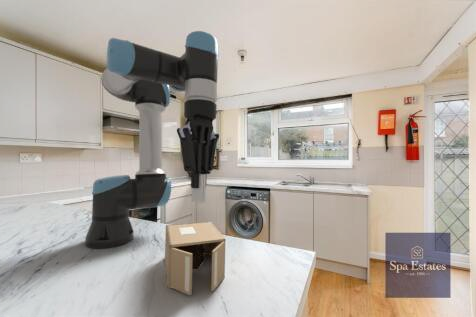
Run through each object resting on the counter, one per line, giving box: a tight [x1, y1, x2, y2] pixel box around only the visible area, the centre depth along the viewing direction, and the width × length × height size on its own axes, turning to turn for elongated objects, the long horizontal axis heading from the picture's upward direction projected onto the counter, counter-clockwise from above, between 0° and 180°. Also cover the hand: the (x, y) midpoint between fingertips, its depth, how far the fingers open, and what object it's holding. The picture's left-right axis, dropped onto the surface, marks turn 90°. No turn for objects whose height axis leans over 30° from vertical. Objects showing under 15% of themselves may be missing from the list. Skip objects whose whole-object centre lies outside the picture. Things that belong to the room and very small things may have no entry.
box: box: [178, 244, 205, 271], centre depth 63 cm, size 6×6×7 cm
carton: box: [164, 221, 226, 288], centre depth 61 cm, size 16×14×10 cm
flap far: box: [210, 242, 224, 292], centre depth 52 cm, size 1×6×9 cm, turn 162°
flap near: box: [169, 248, 193, 296], centre depth 49 cm, size 1×6×9 cm, turn 61°
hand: (198, 201), depth 51 cm, fingers closed
